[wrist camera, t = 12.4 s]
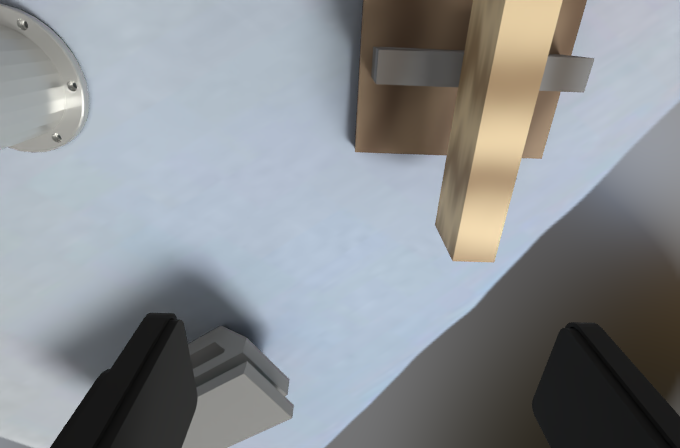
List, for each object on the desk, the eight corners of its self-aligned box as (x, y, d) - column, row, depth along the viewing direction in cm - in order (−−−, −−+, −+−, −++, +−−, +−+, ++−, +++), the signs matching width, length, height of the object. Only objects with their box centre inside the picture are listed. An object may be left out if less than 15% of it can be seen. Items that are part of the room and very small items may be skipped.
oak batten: (500, -164, 23) (550, -222, 17) (553, -161, 23) (619, -219, 18) (435, 225, 35) (452, 261, 29) (470, 226, 35) (494, 262, 29)
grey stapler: (162, 412, 56) (125, 493, 46) (120, 381, 53) (72, 460, 43) (301, 341, 50) (292, 418, 40) (263, 301, 47) (243, 373, 37)
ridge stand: (354, 147, 38) (357, 169, 32) (365, -49, 31) (372, -66, 25) (534, 154, 38) (569, 176, 33) (587, -38, 31) (644, -53, 25)
